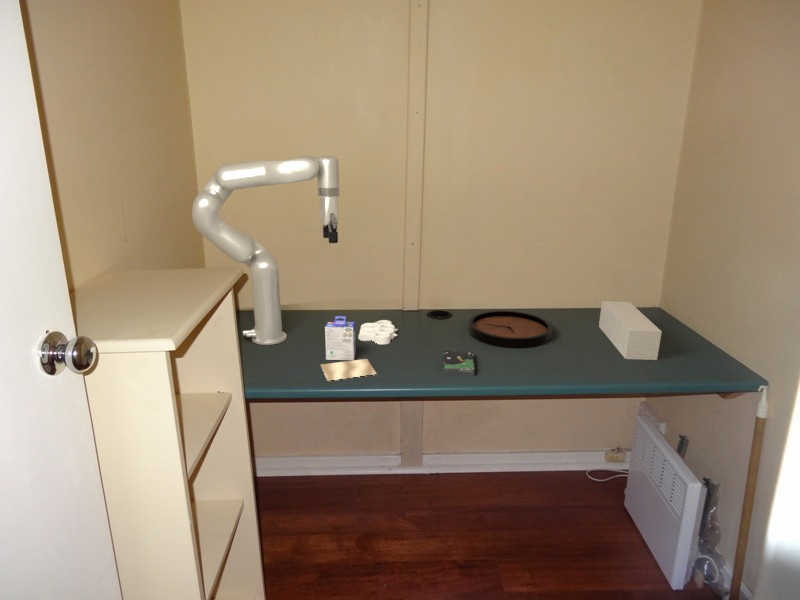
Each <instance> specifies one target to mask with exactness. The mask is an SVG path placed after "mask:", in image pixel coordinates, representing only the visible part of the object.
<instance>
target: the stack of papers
mask: <svg viewBox="0 0 800 600" xmlns="http://www.w3.org/2000/svg"><path fill="white" fill-rule="evenodd" d="M598 323H599V324H598V327H599V328H600V330H601V331H602V332H603V333H604V334H605V336H606V337H607V338H608V339H609V340H610V342H611V343H612V345H613V346H614V347H615V348H616V349H617V350H618V352H619V353H620V354H621V355H622V357H623V358H624V359H626V360H646V361H648V360H649V361H652V360H654V361H657V360H658V356H659V350H660V344H661V338H662V330H661V329H660V328H658V326H656V325H655V324H654V323H653V322H652V321H651V320H650V319H649V318H648V317H647V316H646V315H645V314H643V313H642V312H641V311H640V310H639V309H638V308H637V307H636V306H634V304H632V302H630V301H608V300H607V301H601V307H600V315H599V322H598Z"/></svg>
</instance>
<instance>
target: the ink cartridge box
mask: <svg viewBox="0 0 800 600" xmlns="http://www.w3.org/2000/svg"><path fill="white" fill-rule="evenodd" d="M346 317H347V316H346V315H344V316H343V315H337V316H336V315H335V319H334V321H327V323H326V325H325V326H324V337H325V340H324V341H325V343H324V344H325V360H327V361H335V360H336V361H353V360H355V358H356V356H357V351H356V348H357V347H356V322H355V321H346V319H347V318H346ZM338 319H343V320H338Z"/></svg>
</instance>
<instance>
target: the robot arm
mask: <svg viewBox="0 0 800 600" xmlns="http://www.w3.org/2000/svg"><path fill="white" fill-rule="evenodd" d="M339 168H340V167H339V159H338V157H336V156H331V155H330V156H329V155H326V156H308V155H302V156H299V157H298V158H295V159H294V158H293V159H284V160H268V159H260V160H259V159H258V160H252V161H245V162H237V163H229V162H228V163H226V162H225V163H222V164H221V165H219V166H218V168H217V169H216V170H215V172H214V174H213V175H212V176H211V177H210V179H209V180H208V181H207V182H206V184H205V185H204V186H203V187H202V188H201V190H200V191H199V192H198V194H197V195H196V197H195V198H194V200H193V204H192V209H191V218H192V223H193V225H194V227H195V229H196V230H197V231H198V232H199V234H200V235H201V236H202V237H204V238H205V240H207V241H208V242H209V243H211V244H212V245H213V246H214V247H216V248H217V249H218V250H220V251H221V252H222V253H223V254H225V255H226V256H227V257H228V258H229V259H230V260H232V261H233V262H236V263H239V264H243V265H245V266H247V267H248V268H249V269H250V279H251V280H250V281H251V288H252V289H251V291H252V292H251V293H252V301H253V313H254V314H253V317H254V326H253V328H252V329H250V330H249V329H247V330H245V329H244V330H243V331H242V335H243V336H244V337H245V336H246V338H251V340H252V343H254V344H256V345H260V346H261V345H262V346H271V345H278V344H280V343H283V342H284V341H286V340H287V338H288V337H287V336H288V335H287V333H286V332H284V331H283V324H282V308H281V295H280V271H279V270H280V269H279V266H278V262H277V259H276V257H275V255H274V254H273V253H272V252H271V251H270V250H268V249H267V248H266V246H264V245H262V244H261V243H259V242H258V241H257V240H256V239H255V238H254V237H252V236H251V235H249V234H248V233H246V232H243V231H237V230H235V229H234V228H233V227H232V226H230V224H228V223H227V222H226V221H225V220H223V219H222V218H221V217H220V214H219V213H220V210H221V208H222V206H223V205H224V203H225V202H226V201H227V199H228V198H229V197H230V196H231V195H232V193H233V192H234V191H236V190H244V189H250V188H257V187H258V188H259V187H266V186H274V185H275V186H276V185H284V184H292V183H299V182H300V183H301V182H307V181H311V180H314V179H315V178H316V179H317V197H318V198H319V222H320V223H321V224H322V236H323V238H324V239H328V244H337V243H339V236H338V235H339V233H338V230H339V229H338V224H339V210H338V198H340V177H339V176H340V175H339V173H340V170H339Z"/></svg>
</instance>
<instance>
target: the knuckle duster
mask: <svg viewBox="0 0 800 600" xmlns="http://www.w3.org/2000/svg"><path fill="white" fill-rule="evenodd" d="M398 330H399V329H398V328H396V327H395V325H394V324H392V321H390V320H387V319H381V320H378V321H375V322H365V323H363V324H361V325H360V329H359V334H358V337H357V338H358V340H360V341H361V342H362V341H363V342H370V341H371V340H372V341H371V342H373V341H374V342H375V343H374V342H373V343H374V344H376V343H377V345H388V344H390V343H391V339H392V340H394V339H393V338H395V337H398V334H396V332H397V331H398Z"/></svg>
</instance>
